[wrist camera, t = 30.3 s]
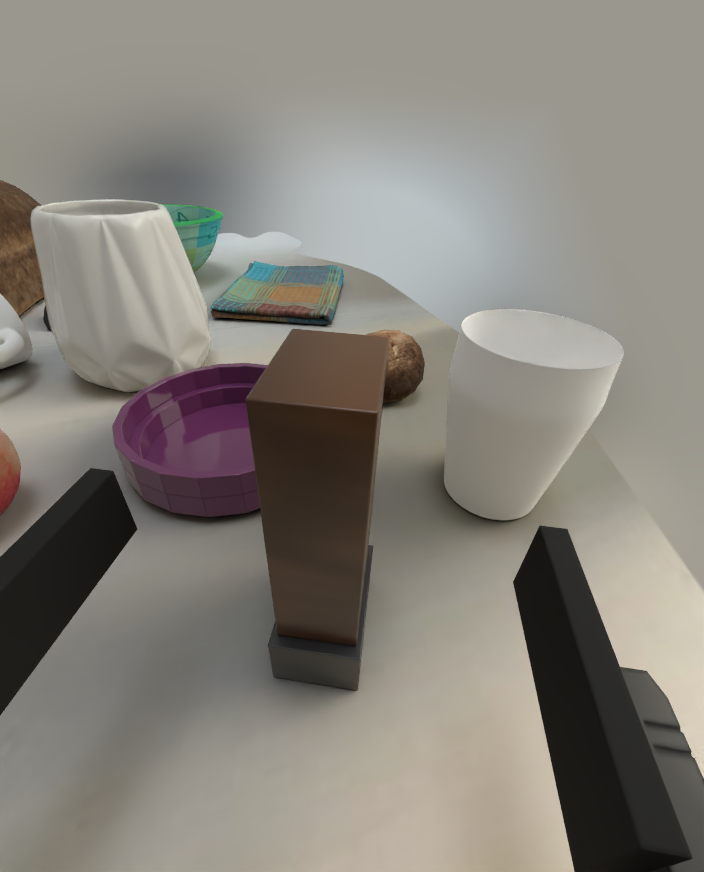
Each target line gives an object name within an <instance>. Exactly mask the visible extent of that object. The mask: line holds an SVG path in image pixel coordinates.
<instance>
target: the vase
mask: <svg viewBox="0 0 704 872" xmlns="http://www.w3.org/2000/svg"><path fill="white" fill-rule="evenodd" d="M30 221H31V229H32V234H33V239H34V244H35V249H36V254H37V258H38V263H39V267H40V272H41V278H42V284H43V291H44V297H45V303H46V309H47V315H48V320H49V324H50V327H51V330H52V332H53V335H54V337H55V340H56V342H57V345H58V347H59V350H60V352H61V354H62V356H63V358H64V360H65V362H66V363H67V364H68V365H69V366H70V367H71V368H72V369H73V370H74V371H75V372H76V373H77V374H78V375H79V376H80V377H81V378H83V379H84V380H86V381H88V382H91V383H94V384H97V385H100V386H103V387H107V388H112V389H115V390H119V391H123V392H135V391H141V390H143V389H144V388H146V387H148V386H150V385H152V384H154V383H156V382H157V381H159V380H161V379H164V378H166V377H169V376H172V375H175V374H178V373H181V372H184V371H187V370H191V369H195V368H200V367H201V366H202V365H203V364H204V363H205V361H206V359H207V356H208V353H209V349H210V346H211V339H210V331H209V322H208V309H207V306H206V302H205V300H204V297H203V295H202V292H201V290H200V287H199V284H198V282H197V280H196V277H195V275H194V272H193V270H192V267H191V265H190V262H189V260H188V257H187V255H186V252H185V250H184V247H183V245H182V243H181V240H180V238H179V235H178V233H177V230H176V228H175V226H174V224H173V221H172V219H171V217H170V214H169V213H168V211H167V209H166V208H165V206H163V205H160V204H157V203H152V202H148V201H137V200H113V199H108V200H85V201H66V202H56V203H51V204H47V205H44V206H37V207H36V208H35V209H33V210H32V213H31V218H30Z"/></svg>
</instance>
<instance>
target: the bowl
mask: <svg viewBox="0 0 704 872" xmlns="http://www.w3.org/2000/svg"><path fill="white" fill-rule="evenodd" d="M160 205H163V206H165V208H166V209H167V211H168V213H169V214H170V217H171V219H172V221H173V224H174V226H175V228H176V230H177V233H178V235H179V238H180V240H181V243H182V245H183V247H184V250H185V252H186V255H187V257H188V260H189V262H190V265H191V267H192V270H193V272H195V271H196V270H198V269H199V268H200V267H201V266H202V265H203V264H204V263H205V262H206V260H207V259H208V257H209V256H210V254H211V252H212V250H213V247H214V245H215V242H216V238H217V233H218V230H219V229H220V223H221V220H222V218H223V214H222V213H221V212H220V211H217V210H214V209H211V208H205V207H199V206H189V205H173V204H160Z"/></svg>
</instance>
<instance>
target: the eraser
mask: <svg viewBox="0 0 704 872" xmlns="http://www.w3.org/2000/svg"><path fill="white" fill-rule="evenodd" d="M388 345H389V338H388V337H379V336H368V335H357V334H345V333H334V332H323V331H312V330H301V329H292V330H291V332H290V333H289V335H288V336H287V338H286V339H285V341H284V342H283V344H282V345H281V347H280V348H279V350H278V351H277V353H276V354H275V356H274V357H273V359H272V360H271V362H270V363H269V365H268V366H267V368H266V369H265V371H264V372H263V374H262V375H261V377H260V378H259V380H258V381H257V383H256V384H255V386H254V387H253V389H252V390H251V392H250V393H249V395H248V396H247V397H246V407H247V415H248V422H249V429H250V437H251V444H252V451H253V459H254V466H255V473H256V481H257V488H258V495H259V503H260V510H261V517H262V525H263V532H264V539H265V547H266V554H267V562H268V569H269V576H270V584H271V591H272V598H273V606H274V613H275V620H276V621H275V624H274V627H273V631H272V634H271V638H270V641H269V644H268V647H269V653H270V659H271V665H272V671H273V677H276V678H283V679H289V680H295V681H301V682H307V683H314V684H320V685H326V686H332V687H338V688H345V689H351V690H357V689H358V681H359V672H360V663H361V654H362V645H363V635H364V626H365V617H366V608H367V598H368V589H369V580H370V571H371V562H372V552H373V546H371V545H368V544H369V534H370V524H371V514H372V504H373V494H374V484H375V474H376V464H377V454H378V444H379V434H380V425H381V415H382V405H383V395H384V385H385V375H386V365H387V355H388Z"/></svg>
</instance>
